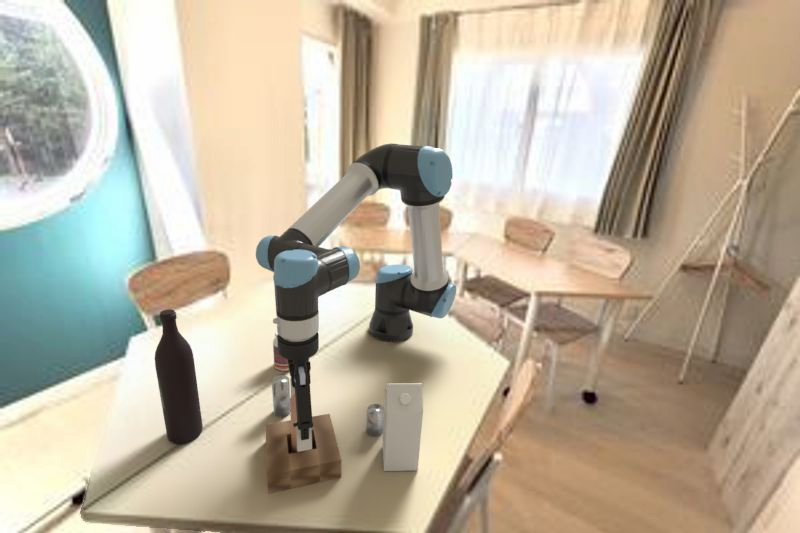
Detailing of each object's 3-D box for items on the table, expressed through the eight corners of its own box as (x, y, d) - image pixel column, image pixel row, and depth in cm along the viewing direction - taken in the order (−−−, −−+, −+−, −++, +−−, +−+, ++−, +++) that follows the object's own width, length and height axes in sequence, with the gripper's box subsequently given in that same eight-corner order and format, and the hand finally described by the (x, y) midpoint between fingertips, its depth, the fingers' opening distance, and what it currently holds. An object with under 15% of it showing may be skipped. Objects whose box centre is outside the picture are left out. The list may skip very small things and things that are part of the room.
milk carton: (382, 446, 91) (385, 373, 85) (413, 445, 92) (419, 373, 86) (383, 471, 85) (387, 395, 78) (417, 471, 85) (424, 394, 79)
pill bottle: (299, 368, 118) (298, 334, 114) (278, 374, 114) (276, 339, 111) (292, 357, 122) (290, 324, 119) (271, 363, 119) (269, 329, 115)
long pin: (310, 449, 89) (309, 391, 84) (312, 463, 86) (311, 403, 81) (291, 453, 88) (289, 394, 83) (292, 467, 84) (290, 406, 79)
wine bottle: (190, 418, 96) (173, 301, 86) (209, 430, 93) (194, 310, 83) (160, 436, 90) (139, 313, 80) (180, 450, 87) (160, 323, 77)
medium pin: (290, 404, 102) (288, 374, 99) (291, 415, 99) (290, 383, 96) (273, 408, 101) (271, 376, 98) (274, 418, 98) (272, 386, 95)
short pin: (380, 423, 98) (381, 402, 96) (385, 435, 95) (386, 413, 93) (364, 426, 97) (365, 405, 95) (368, 438, 93) (369, 416, 91)
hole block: (329, 429, 95) (329, 413, 94) (341, 477, 83) (341, 459, 81) (266, 441, 91) (265, 424, 89) (268, 493, 78) (267, 475, 77)
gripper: (274, 306, 87) (278, 390, 94) (281, 373, 64) (286, 477, 72) (310, 303, 89) (311, 385, 96) (329, 366, 67) (329, 467, 74)
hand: (300, 425), depth 84 cm, fingers open, 13 cm apart
